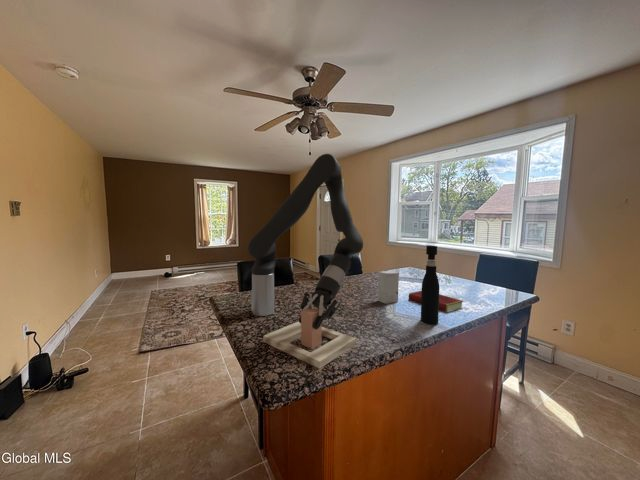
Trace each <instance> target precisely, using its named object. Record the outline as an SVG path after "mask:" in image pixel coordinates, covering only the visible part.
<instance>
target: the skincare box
mask: <svg viewBox="0 0 640 480" xmlns="http://www.w3.org/2000/svg"><path fill="white" fill-rule="evenodd" d="M399 273H400V272H397V271H393V270H386V271H385V270H384V271H378V285H377V286H378V289H377V290H378V291H377V292H378V293H377V301H379V302H380V303H383V304H385V305H386V304H393V303H398V302H399V281H400V276H399V275H400V274H399Z"/></svg>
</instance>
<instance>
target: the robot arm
mask: <svg viewBox="0 0 640 480" xmlns="http://www.w3.org/2000/svg"><path fill="white" fill-rule="evenodd" d="M323 184H325V187H326V188H327V192H328V196H329V200H330V201H329V203H330V211H331V216H332V220H333V224H334V228H335V231H337V232H338V233H342V234H343V235H344V237H343V238H341V239H340V240H339V241H338V242H337V244H336V246H335V249H334V252H333V257H332V258H331V260H330V261H329V264H328V265H327V266H326V268H325V270H324V271H323V273H322V274H321V276H320V278H319V280H318V281H317V284H316V286H315V290H314V291H313V292H312V293H309V292H305V293H304V295H303V298H302V301H301V304H300V309H301V311H302V310H305V309H308V308H310V307H311V308H315V309H319V316H317V318H316V320H315V321H314V323H313V326H312V327H313V328H314V329H316V330H317V329H318V328H319V327H320V326H321V327H322V325H323V324H322V323H323V322H324V321H325V320H326V319H328V320H330V319H331V318H332V317H333V316H334V314H335V313H336V312H337V310H338V308H340V305H341V304H340V303H339V301H338V300H337V299H335V298H336V297H337V295H338V292H339V291H340V289H341V287H342V285H343V283H344V280H345V278H346V276H347V273H348V271H349V270H350V267H351V259H350V257H351V256H353V255H356V254H359V253H361V252H362V251H363V248H364V241H363V240H364V239H363V238H362V236H361V234H360V232H359V231H358V228H357V227H356V226H355V224H354V221H353V218H352V214H351V210H350V206H349V204H348V200H347V198H346V193H345V190H344V185H343V176H342V166H341V164H340V162H339V161H338V160H337V159H336V158H335V156H334V155H332V154H330V153H324V154H321V155H320V156H318V157H317V158H316V160H315V161H314V162H313V163H312V165H311V167H310V168H309V169H308V171H307V173H306V174H305V176H304V177H303V178H302V179H301V181H299V184H298V185H297V186H296V187H295V188H294V189H293V191H292V192H291V193H290V194H289V195H288V196H287V198H286V199H285V200H284V201H283V202H282V203H281V204H280V206H279V208H278V209H277V211H275V212H274V214H273V215H272V216H271V217H270V219H269V220H268V221H267V223H266V224H265V225H264V227H262V228H261V229H260V230H259V231H258V233H256V235H254V237H252V238H251V239H250V241H249V243H248V247H247V248H248V250H247V251H248V253H249V255H250V257H252V258H255V261H254V263H253V266H252V267H251V290H250V303H251V304H250V305H251V307H250V308H251V311H250V313H252V315H253V316H257V317H266V316H270V315H273V314H274V313H275V267H276V261H277V260H276V257H277V247H276V241H277V240H278V239H279V238H280V237H281V236H282V235H283V234H284V233H285V232H287V231H288V230H289V229H291V228H292V227H293V226H294V225H295V224H297V222H299V221H300V220H301V218H302V217H303V216H304V215H305V214H306V212H307V211H308V209H309V208H310V206H311V203H312V200H313V198H314V196H315V194H316V192H317V191H318V189H319V188H320V187H321V186H322V185H323ZM298 321H299V323H301V315H300V316H299V318H298Z"/></svg>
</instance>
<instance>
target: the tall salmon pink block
mask: <svg viewBox="0 0 640 480" xmlns="http://www.w3.org/2000/svg"><path fill="white" fill-rule="evenodd" d="M319 310H320V309H319V308H316V309H315V308H311V307H310V308H308V309H305V310H302V309H301V311H300V316H301V337H300V339H301V344H300V345H301V346H304V347H306V348H309V349H311V350H313V349H315V348H316V347H319V346H321V345H322V344H323V343H322V339H323V336H322V330H321V327H322V325H321V326H320V327H319V328H318V329H317V330H316V329H314V328H313V327H312V326H313V323H314V321H315V320H316V318H317V316H319Z"/></svg>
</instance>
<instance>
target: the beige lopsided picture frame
mask: <svg viewBox="0 0 640 480" xmlns="http://www.w3.org/2000/svg"><path fill="white" fill-rule="evenodd" d="M321 330H322V337H324V338H328V339H330V341H328V342H326V343H324V344H323V345H320V346H319V347H318V348H316V349H315V350H312V351H311V352H310V351H307V350H306V349H303V348H301V347H299V346H297V345H295V344H292V342H294V341H296V340H298V339H301V323H299V320H298V321H295V322H293V323H291V324H289V325H287V326H284V327H281V328H279V329H276V330H274V331H271V332H269V333H266V334H265V335H264V334H263V343H265V344H268V346H269V345H270V346H272V347H274V348H275V349H277V350H280V351H282V352H284V353H285V354H288V355H290V356H292V357H295V359H298V360H301V361H303V362H305V363H307V364H309V365H311V366H312V367H316V368H317V369H319V370H320V369H322V368H324V366H327V364H329V363H331V362H332V361H334V360H335V359H336V358H338V357H340V356H341V355H342V354H344V353H345V352H347V351H348V350H350V349H352V348H354V346H356V344H357V338H356V337H353V336H351V335H347V334H345V333H342V332H338V331H336V330H332V329H329V328H327V327H324V326H321Z"/></svg>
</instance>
